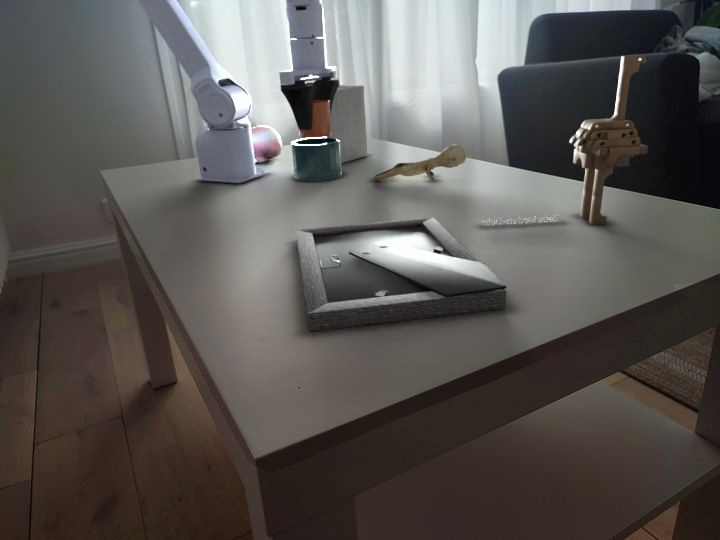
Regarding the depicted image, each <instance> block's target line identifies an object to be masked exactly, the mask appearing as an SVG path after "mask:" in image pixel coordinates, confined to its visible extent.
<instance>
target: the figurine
mask: <svg viewBox="0 0 720 540" xmlns="http://www.w3.org/2000/svg"><path fill="white" fill-rule="evenodd" d="M466 159H467V153H466V150H465V149H464V148H463V146H461V145H459V144H456V143H455V144H450V145H449V146H447V147H446V148H444V149H443V150H442V151H441V152H440V153H439V154H438V155H436V156H435V157H429V158H425V159H422V160H419V161H413V162H398V163H396V164H395V165H394V166H393V167H391V168H389V169H386V170H384V171H382V172H379V173H376V174H375V175H374V176H373V177H374V182H380V181H384V180H387V179H390V178H394V177H396V176H403V177H413V176H419V175H422V174H426V176H427V177H428V179H429V181H430V182H434V181H435V177H434V176H435V173H434V172H433V171H432V170H434V169H436V168H439V167H442V168H446V169H448V168H450V169H452V168H455V167H458V166H460V165H462V164H464V163H465V162H466Z"/></svg>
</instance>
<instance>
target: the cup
mask: <svg viewBox="0 0 720 540" xmlns="http://www.w3.org/2000/svg"><path fill="white" fill-rule="evenodd" d="M298 134H299V135H298V136H299V138H301V139H306V138H319V137H326V136H330V135H331V118H330V104H329V100H313V103H312V127H311V129H310V130H299V129H298Z"/></svg>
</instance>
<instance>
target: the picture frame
mask: <svg viewBox="0 0 720 540" xmlns="http://www.w3.org/2000/svg"><path fill="white" fill-rule="evenodd" d="M295 235H296V243H297V251H298V259H299V265H300V274H301V281H302V288H303V295H304V302H305V309H306V317H307V324H308V332H309V333H311V332H319V331H327V330H334V329H335V330H336V329H345V328H353V327H360V326H368V325H370V326H371V325H377V324H387V323H393V322H403V321H410V320H411V321H412V320H418V319H428V318H436V317H444V316H445V317H446V316H452V315H454V316H455V315H460V314H469V313H476V312H477V313H479V312H485V311H494V310H502V309H504V310H505V309H506V303H507V285H506V284H505V283H504V282H503V280H501V279H500V278H499V276H497V275H496V274H495V273H494V272H493V271H492V270H491V269H490V268H489V267H488V266H487V265H486V264H485V263H484V262H480V261H478V260H476V259H475V258H474V257H473V255H471V253H470V252H469V251H468V250H466V248H465V247H463V246H462V244H460V242H459V241H457V239H456V238H454V236H453V235H452V234H451V233H450V232H449V231H448V230H447V229H446V228H445V227H444V226H443V225H442V224H441V223H440V222H439V221H438V220H437V219H436V218H435V217H434V216H429V217H428V216H427V217H418V218H409V219H408V218H407V219H398V220H397V219H396V220H388V221H376V222H367V223H356V224H355V223H354V224H345V225H335V226H325V227H324V226H323V227H314V228H313V227H312V228H304V229H296V230H295Z"/></svg>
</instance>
